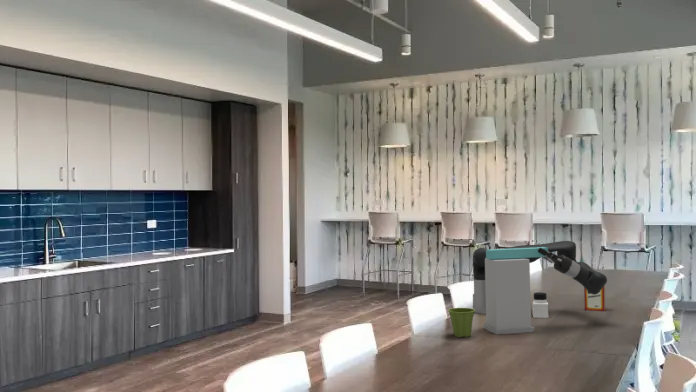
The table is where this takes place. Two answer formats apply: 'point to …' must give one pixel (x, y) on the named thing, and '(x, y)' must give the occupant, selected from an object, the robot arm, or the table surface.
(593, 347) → the table surface
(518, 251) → the block
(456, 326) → the plant pot
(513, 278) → the pedestal
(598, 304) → the baking soda box
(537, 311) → the medicine bottle
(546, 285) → the table surface
